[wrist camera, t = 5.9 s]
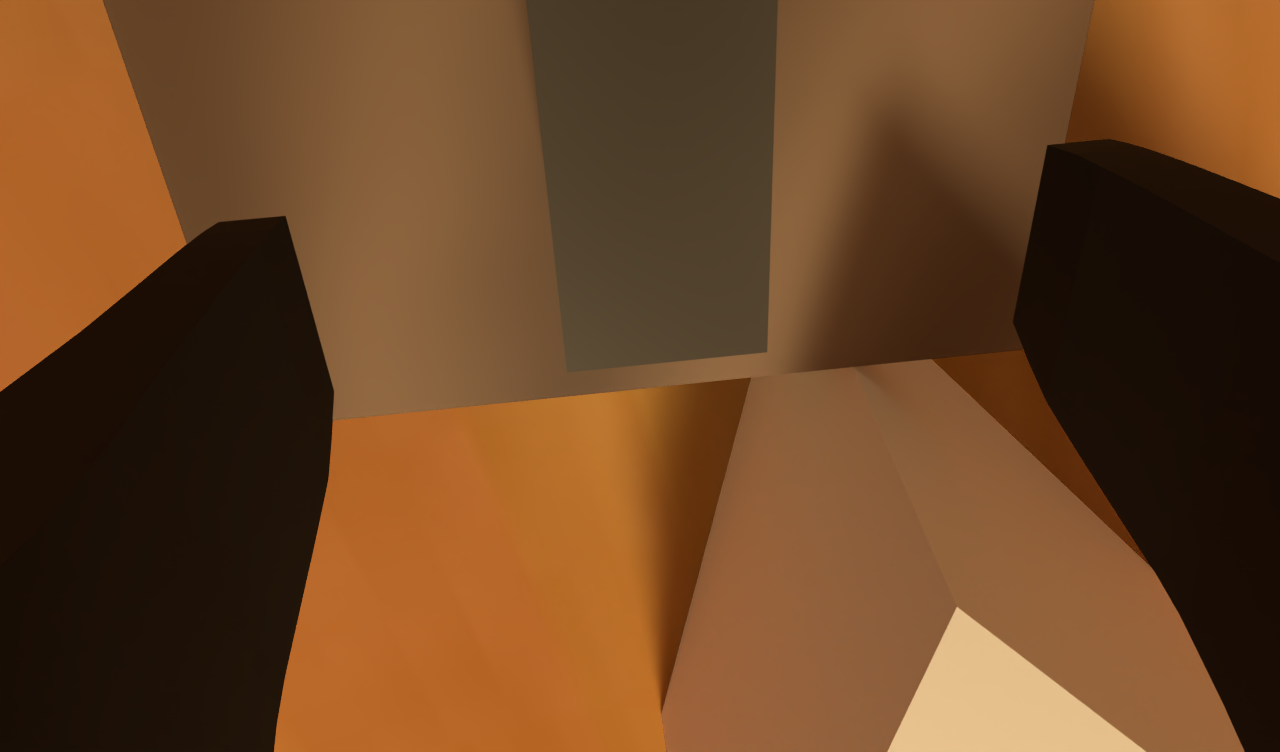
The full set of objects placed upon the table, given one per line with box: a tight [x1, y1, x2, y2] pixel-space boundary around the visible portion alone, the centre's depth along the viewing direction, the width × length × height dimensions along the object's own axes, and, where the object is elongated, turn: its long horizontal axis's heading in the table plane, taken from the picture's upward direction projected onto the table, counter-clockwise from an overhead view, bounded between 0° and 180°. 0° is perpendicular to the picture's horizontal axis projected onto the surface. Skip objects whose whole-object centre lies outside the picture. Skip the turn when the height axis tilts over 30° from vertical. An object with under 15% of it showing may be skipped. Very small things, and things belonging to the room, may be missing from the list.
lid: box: [103, 0, 1094, 420], centre depth 13 cm, size 13×13×5 cm
